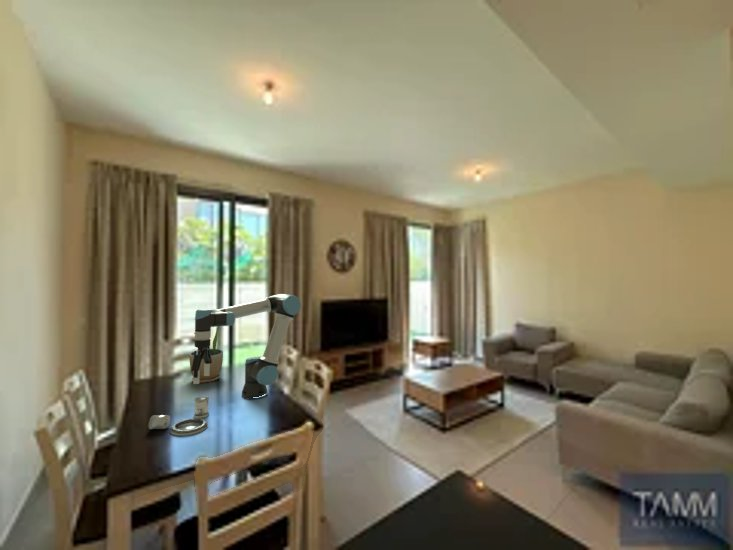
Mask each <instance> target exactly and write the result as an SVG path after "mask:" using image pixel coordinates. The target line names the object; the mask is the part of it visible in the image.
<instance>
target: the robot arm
mask: <svg viewBox="0 0 733 550" xmlns="http://www.w3.org/2000/svg"><path fill="white" fill-rule="evenodd" d="M301 308H302V303H301V301H300V299H299V296H296V295H293V294H286V293H277V294H275V295H271V296H267V297H264V298H263V299H260V300H257V301H251V302H247V303H241V304H236V305H233V306H226V307H223V308H219V309H218V308H217V309H215V308H213V309H210V308H201V309H196V310H195V315H194V316H195V318H194V333H193V335H194V339H195V340H194V348H197V350H194V351H195V354H194V360H193V364H192V369H190V372H191V371H193V375H192V378H193V379H192V381H193V383H192V384H193V385H199V384H200V383H199V377H200V371H199V368H200V364H201V361H202V359H204V362H205V363H206V364H204V376H210V364H209V363H212V359H211V354H210V349H211V342H212V341H211V335H212V334H211V333H212V332H211V330H212V328H216V327H218V326H219V327H230V326H233V325H234V324H235V321H236V319H239V318H240V319H241V318H243V317H244V318H245V317H248V316H253V315H256V314H261V313H265V312H267V313H274V314H275V316H276V317H275V320H274V323H273V326H272V328H271V332H270V334H269V337H268V340H267V343H266V346H265V350H263V351H264V352H263V355H262V356H253V357H251V356H250V357H247V358H246V359H245V364H244V366H245V367H244V368H245V370H244V372H245V373H244V384H243V387H242V391H241V397H242V398H243V397H245V398H244V399H246V398H253V397H259V396H262V395H264V394H266V393H267V394H268V387H267V386H270V385H272V384H274V382H276V381H277V380H278V377H279V369H278V366H279V364H280V362H279V360H278V359H279V355H280V353H281V350H282V346H283V343H284V341H285V337H286V335H287V331H288V329H289V326H290V324H291V321H293V320H294V319H295V316H296V315H297V314H298V313H299V312H300V310H301Z"/></svg>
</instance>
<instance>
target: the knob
mask: <svg viewBox="0 0 733 550" xmlns="http://www.w3.org/2000/svg"><path fill="white" fill-rule="evenodd" d="M209 400H210V397H209V396H205V395H203V396H201V395H200V396H198V397H195V398H194V414H193V418H200V419H205V418H207V417H209V416H210V412H209Z"/></svg>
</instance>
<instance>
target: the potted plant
mask: <svg viewBox="0 0 733 550" xmlns="http://www.w3.org/2000/svg"><path fill="white" fill-rule="evenodd" d="M219 327H220V326H217V328H216V332H215V334H214V337H213V340H212V348H210V354H211V359H212V363H209V364H210V376H204V364H206V363H205V362H204V359H202V361H201V364H200V368H199V371H200V377H199V384H207V383H206V382H208V383H212V381H213V382H216V381H217V379H218V380H219V379H220V378H221V370H222V365H223V360H224V359H223V358H224V351H223V350H222V349H220V348H217V344H218V343H217V342H218V334H219ZM195 351H196V350H194V351H191V352H190V353H189V357H188V358H189V368H190V372H191V375H192V376H193V371H191V369H192V364H193V360H194V354H195ZM192 380H193V377H192ZM215 380H216V381H215Z"/></svg>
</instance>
